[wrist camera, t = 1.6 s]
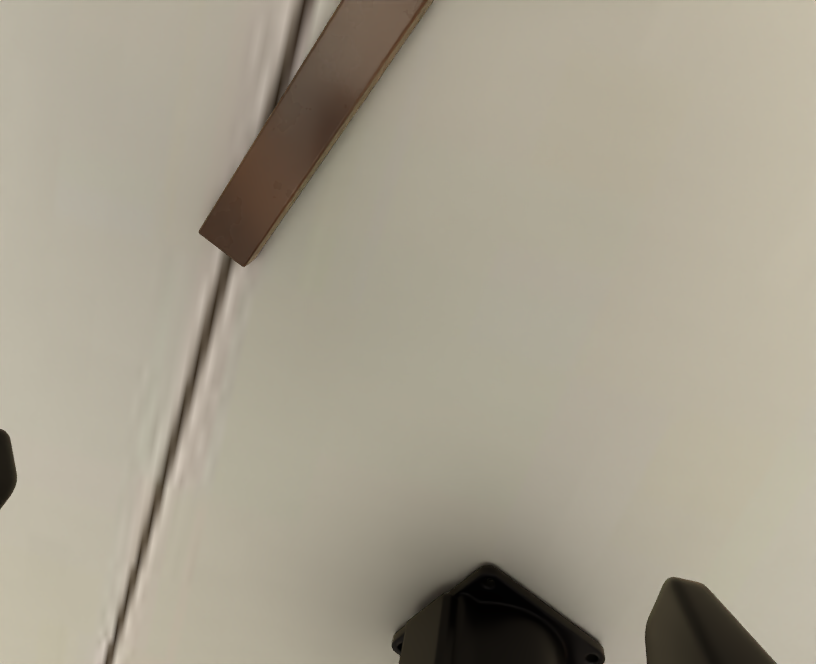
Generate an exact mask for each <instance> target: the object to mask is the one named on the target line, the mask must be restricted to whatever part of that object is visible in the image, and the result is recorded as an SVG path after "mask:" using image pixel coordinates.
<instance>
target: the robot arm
mask: <svg viewBox="0 0 816 664" xmlns="http://www.w3.org/2000/svg"><path fill="white" fill-rule="evenodd" d="M16 482H17V472H16V467H15V462H14V456H13V451H12V446H11V440H10V437H9V435H8V434H7V433H6V431H4V430H2V429H0V509H1V508H2V506H3V505H4V504H5V502H6V501H7V500H8V498H9V497H10V496H11V494H12V492H13V490H14V488H15V485H16ZM486 578H490V579H492V580H487V579H486ZM645 644H646V657H647V664H777V663H776V662H775V661H774V660H773V659H772V658H771V657H770V656H769V655H768V653H767V652H766V651H765V650H764V649H763V648H762V647H761V646H760V645H759V644H758V643H757V641H756V640H755V639H754V638H753V637H752V636H751V635H750V634H749V633H748V632H747V630H746V629H745V628H744V627H743V626H742V625H741V624H740V623H739V622H738V621H737V619H736V618H735V617H734V616H733V615H732V614H731V613H730V612H729V611H728V610H727V608H726V607H725V606H724V605H723V604H722V603H721V602H720V601H719V600H718V599H717V597H716V596H715V595H714V594H713V593H712V592H711V591H710V590H709V589H708V588H707V587H706V586H705V585H703V584H701V583H699V582H695V581H690V580H686V579H681V578H677V577H671V578H668V579H667V580H666V581H665V583H664V584H663V586H662V589H661V591H660V593H659V595H658V598H657V600H656V602H655V604H654V607H653V609H652V611H651V613H650V616H649V618H648V621H647V624H646V630H645ZM392 648H393V650H394V651H395V652H396V653H397V654H399V655H400V661H399V664H603V663H604V661H605V656H604V650H603V647H602V646H601V645H600V644H599V643H598V642H596V641H595V640H594V639H592V638H591V637H590V636H588V635H587V634H586V633H584V632H583V631H581V630H580V629H579V628H577V627H576V626H575V625H573V624H572V623H571V622H569V621H568V620H566V619H565V618H564V617H562V616H561V615H560V614H558V613H557V612H556V611H554V610H553V609H552V608H550V607H549V606H547V605H546V604H545V603H543V602H542V601H541V600H539V599H538V598H537V597H535V596H534V595H532V594H531V593H530V592H528V591H527V590H526V589H524V588H523V587H522V586H520V585H519V584H517V583H516V582H515V581H513V580H512V579H511V578H509V577H508V576H507V575H505V574H504V573H502V572H501V571H500V570H498V569H497V568H495V567H492V566H483V567H481V568H479V569H478V570H476V571H475V572H474V573H473V574H471V575H470V576H469V577H467V578H466V579H465V580H464V581H462V582H461V583H460V584H458V585H457V586H456V587H455V588H453V589H452V590H451V591H449V592H448V593H445V594H442V595H441V596H440V597H438V598H437V599H436V600H434V601H433V602H432V603H431V604H429V605H428V606H427V607H425V608H424V609H423V610H422V611H420V612H419V613H418V614H416V615H415V616H414V617H413V618H411V619H410V620H409V621H408V622H407V624H406V626H404V627H403V628H402V629H400V630H399V631H398V632H397V633H395V635H394V637H393V642H392Z"/></svg>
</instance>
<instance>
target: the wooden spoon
mask: <svg viewBox="0 0 816 664" xmlns="http://www.w3.org/2000/svg"><path fill="white" fill-rule="evenodd" d="M432 2H433V0H342V1H341V2H340V4H339V5H338V7H337V9H336V10H335V12H334V13H333V15H332V17H331V18H330V20H329V21H328V23H327V25H326V26H325V28H324V30H323V31H322V33H321V34H320V36H319V38H318V39H317V41H316V42H315V44H314V46H313V47H312V49H311V51H310V52H309V54H308V55H307V57H306V59H305V60H304V62H303V63H302V65H301V67H300V68H299V70H298V72H297V73H296V75H295V76H294V78H293V80H292V81H291V83H290V84H289V86H288V88H287V89H286V91H285V93H284V94H283V96H282V97H281V99H280V101H279V102H278V104H277V105H276V107H275V109H274V110H273V112H272V114H271V115H270V117H269V118H268V120H267V122H266V123H265V125H264V126H263V128H262V130H261V131H260V133H259V134H258V136H257V138H256V139H255V141H254V143H253V144H252V146H251V147H250V149H249V151H248V152H247V154H246V155H245V157H244V159H243V160H242V162H241V164H240V165H239V167H238V168H237V170H236V172H235V173H234V175H233V176H232V178H231V180H230V181H229V183H228V185H227V186H226V188H225V189H224V191H223V193H222V194H221V196H220V197H219V199H218V201H217V202H216V204H215V206H214V207H213V209H212V210H211V212H210V214H209V215H208V217H207V218H206V220H205V222H204V223H203V225H202V227H201V228H200V230H199V233H200V234H201V235H202V236H203V237H205V238H206V239H207V240H208V241H210V242H211V243H212V244H214V245H215V246H216V247H218V248H219V249H220V250H221V251H223V252H224V253H225V254H227V255H228V256H229V257H231V258H232V259H233V260H234V261H236V262H237V263H238V264H240V265H241V266H243V267H245V266H247V265H248V264H249V263H251V262H252V261H253V260H254V259H255V258H256V257H257V255H258V254H259V252H260V251H261V249H262V248H263V247H264V245H265V244H266V242H267V241H268V239H269V238H270V236H271V235H272V234H273V232H274V231H275V229H276V228H277V226H278V225H279V223H280V222H281V221H282V219H283V218H284V216H285V215H286V213H287V212H288V210H289V209H290V207H291V206H292V205H293V203H294V202H295V200H296V199H297V197H298V196H299V194H300V193H301V192H302V190H303V189H304V187H305V186H306V184H307V183H308V181H309V180H310V178H311V177H312V176H313V174H314V173H315V171H316V170H317V168H318V167H319V165H320V164H321V163H322V161H323V160H324V158H325V157H326V155H327V154H328V152H329V151H330V150H331V148H332V147H333V145H334V144H335V142H336V141H337V139H338V138H339V136H340V135H341V134H342V132H343V131H344V129H345V128H346V126H347V125H348V123H349V122H350V121H351V119H352V118H353V116H354V115H355V113H356V112H357V110H358V109H359V108H360V106H361V105H362V103H363V102H364V100H365V99H366V97H367V96H368V94H369V93H370V92H371V90H372V89H373V87H374V86H375V84H376V83H377V81H378V80H379V79H380V77H381V76H382V74H383V73H384V71H385V70H386V68H387V67H388V65H389V64H390V63H391V61H392V60H393V58H394V57H395V55H396V54H397V52H398V51H399V50H400V48H401V47H402V45H403V44H404V42H405V41H406V39H407V38H408V37H409V35H410V34H411V32H412V31H413V29H414V28H415V26H416V25H417V23H418V22H419V21H420V19H421V18H422V16H423V15H424V13H425V12H426V10H427V9H428V8H429V6H430V5H431V3H432Z"/></svg>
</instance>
